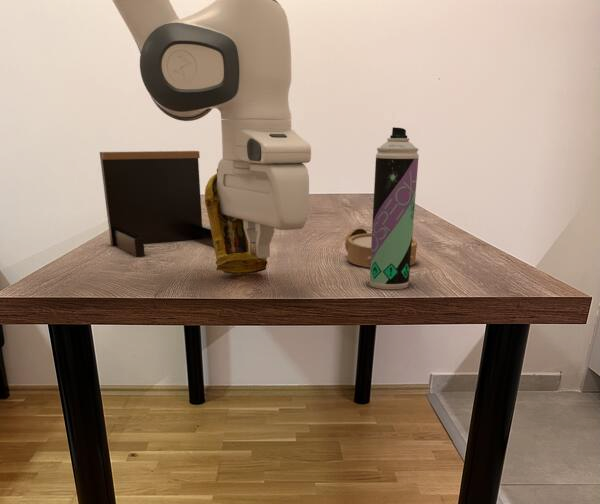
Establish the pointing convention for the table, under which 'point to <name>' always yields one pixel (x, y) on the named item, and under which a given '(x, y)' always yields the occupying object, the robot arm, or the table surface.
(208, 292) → the table surface
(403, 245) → the spray can
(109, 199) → the black display stand
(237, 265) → the shrine
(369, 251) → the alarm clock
